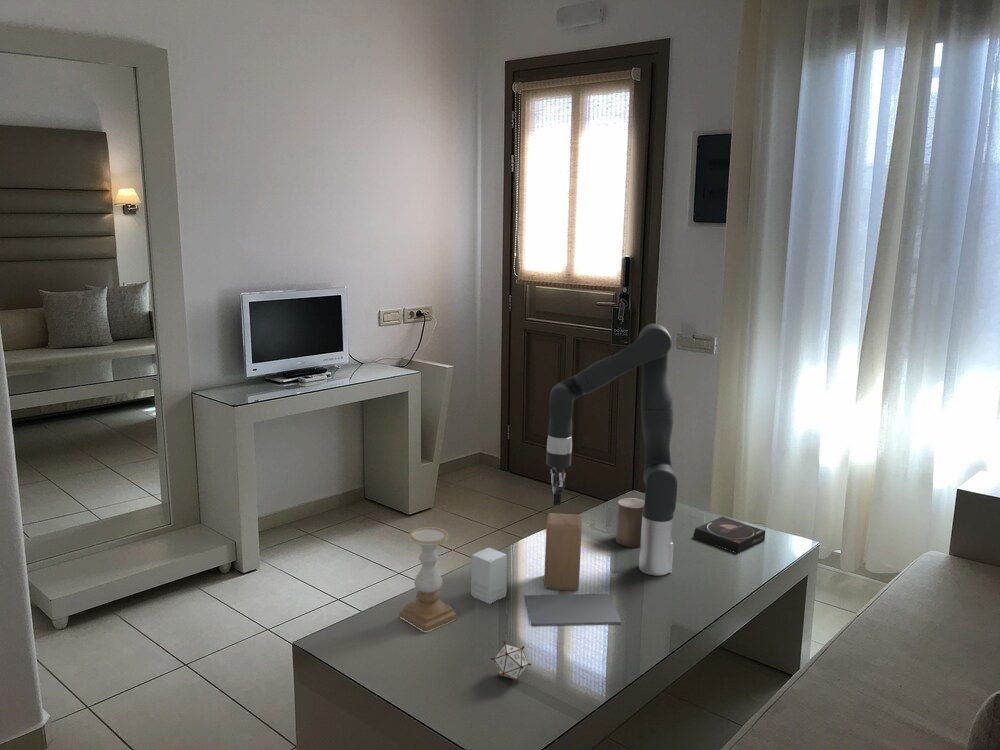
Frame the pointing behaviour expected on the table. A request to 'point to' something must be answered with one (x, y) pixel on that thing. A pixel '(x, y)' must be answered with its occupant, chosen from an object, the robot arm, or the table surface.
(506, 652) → the game die
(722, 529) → the portable cd player
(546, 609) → the mat
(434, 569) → the candle holder
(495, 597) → the supplement box
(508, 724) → the table surface
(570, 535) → the block
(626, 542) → the pillar candle
